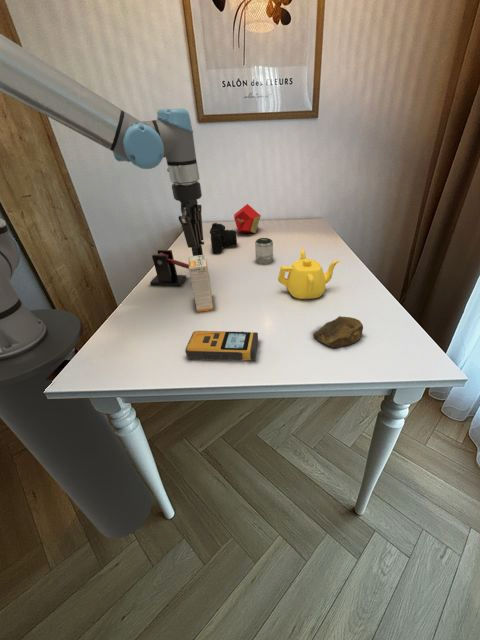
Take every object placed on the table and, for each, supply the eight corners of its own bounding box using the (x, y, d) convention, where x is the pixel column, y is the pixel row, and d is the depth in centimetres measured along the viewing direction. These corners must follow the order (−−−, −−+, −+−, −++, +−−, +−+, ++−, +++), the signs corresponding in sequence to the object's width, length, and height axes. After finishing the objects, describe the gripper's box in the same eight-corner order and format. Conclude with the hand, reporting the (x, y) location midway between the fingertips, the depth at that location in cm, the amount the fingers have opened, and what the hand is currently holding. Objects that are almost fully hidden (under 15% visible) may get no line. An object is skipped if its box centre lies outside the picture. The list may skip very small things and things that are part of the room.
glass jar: (270, 265, 109) (270, 243, 104) (253, 264, 111) (252, 242, 106) (275, 258, 114) (274, 237, 109) (258, 257, 115) (257, 236, 111)
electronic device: (195, 339, 76) (193, 328, 74) (258, 340, 75) (257, 329, 73) (186, 361, 70) (183, 349, 68) (254, 363, 68) (254, 351, 66)
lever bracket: (186, 278, 103) (180, 249, 97) (180, 286, 99) (173, 257, 92) (158, 277, 105) (150, 248, 98) (150, 285, 100) (142, 256, 94)
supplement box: (214, 310, 87) (207, 265, 78) (196, 312, 86) (188, 268, 78) (212, 296, 93) (205, 253, 85) (195, 298, 92) (187, 255, 84)
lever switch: (203, 271, 100) (204, 264, 99) (199, 277, 96) (200, 271, 95) (161, 257, 99) (162, 250, 98) (155, 263, 95) (155, 256, 94)
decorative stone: (336, 354, 70) (338, 342, 68) (307, 335, 76) (308, 323, 74) (366, 337, 75) (368, 324, 72) (337, 320, 81) (338, 308, 78)
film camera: (235, 253, 119) (233, 229, 113) (210, 254, 119) (207, 230, 113) (237, 240, 131) (235, 217, 125) (214, 241, 131) (212, 218, 125)
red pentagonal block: (265, 231, 142) (256, 235, 129) (240, 232, 145) (228, 235, 132) (264, 202, 137) (254, 203, 124) (238, 204, 140) (226, 204, 127)
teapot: (337, 290, 94) (341, 258, 87) (310, 307, 86) (312, 274, 80) (300, 277, 101) (302, 247, 95) (273, 292, 94) (273, 260, 88)
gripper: (180, 177, 87) (195, 258, 102) (162, 187, 77) (181, 275, 92) (206, 177, 86) (217, 258, 101) (191, 187, 76) (205, 276, 91)
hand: (200, 266), depth 97 cm, fingers closed
